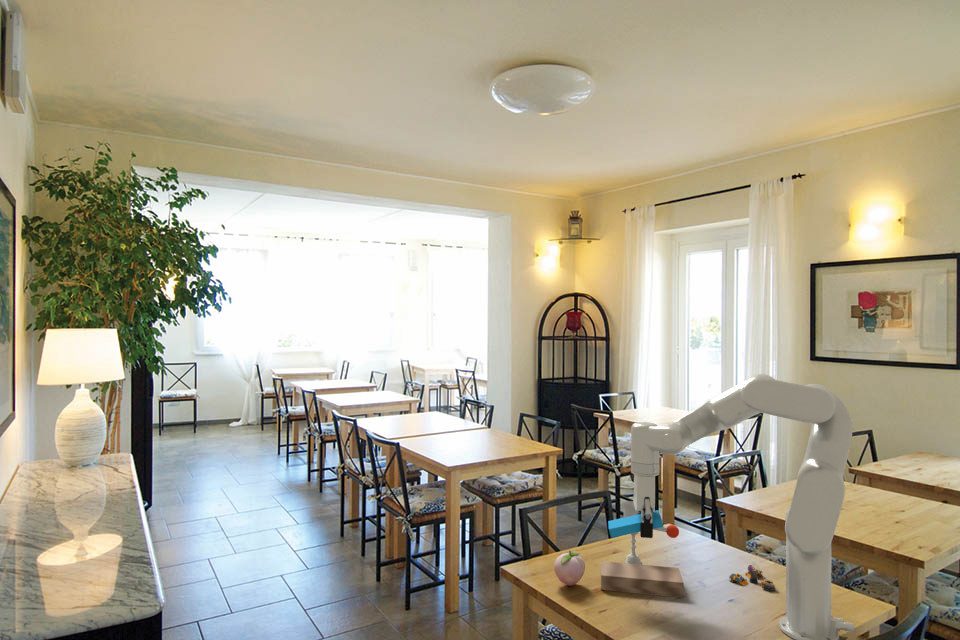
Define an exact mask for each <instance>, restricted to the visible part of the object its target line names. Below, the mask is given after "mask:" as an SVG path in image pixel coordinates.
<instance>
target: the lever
mask: <svg viewBox="0 0 960 640" xmlns="http://www.w3.org/2000/svg"><path fill="white" fill-rule="evenodd" d="M644 515H645V514H644ZM640 522H641V514H638V515H634V516H629V517H625V518H624V517H621V518H616V519H612V520H608V522H607V524H608V530H609V535H610V538H611V539H612V538H617V537H621V536H628V535H631V534H632V533H636V532H639V533H640ZM652 523H653V531H654V530H655V531H658V532H662V533H666V535H667V537H669V538H670V539H675V538H678V536H679V534H680V530H679V527H678V526H677V525H674V524H669V525H668V526H667V527H664V526H665V525H664V523H663V519H662V517H661V513H660V511H659V510H658V509H657V510H656V509H655V510H654V512H653V513H652Z"/></svg>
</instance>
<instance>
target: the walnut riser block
mask: <svg viewBox="0 0 960 640" xmlns="http://www.w3.org/2000/svg"><path fill="white" fill-rule="evenodd" d="M684 585H685V584H684V580H683V577H682V574H681V572H680V568H679V567H671V566H661V565H660V566H659V565H649V564H641V565H639V564H628V563H625V562H615V561H614V562H613V561H603V560H601V561H600V590H602V591H603V590H604V591H611V592H612V591H613V592H620V593H621V592H623V593H631V594H641V595H642V594H644V595H653V596H664V597H675V598H684V596H685V595H684V587H685V586H684Z"/></svg>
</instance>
